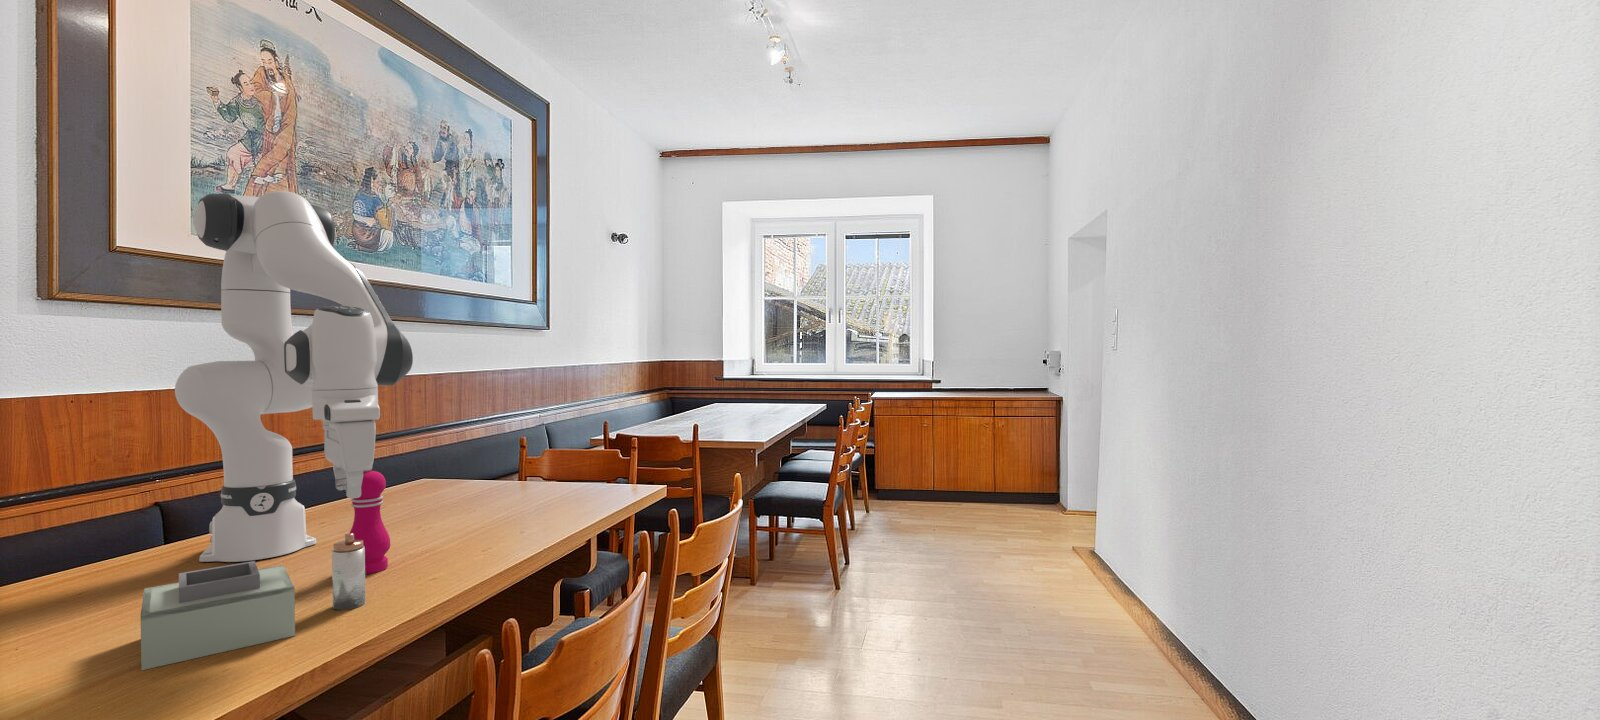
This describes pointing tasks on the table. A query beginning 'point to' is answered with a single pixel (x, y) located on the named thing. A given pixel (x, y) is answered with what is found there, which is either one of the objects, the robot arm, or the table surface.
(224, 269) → the robot arm
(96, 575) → the table surface
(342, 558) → the canister
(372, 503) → the pepper mill
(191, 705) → the table surface
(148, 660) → the green square holder
